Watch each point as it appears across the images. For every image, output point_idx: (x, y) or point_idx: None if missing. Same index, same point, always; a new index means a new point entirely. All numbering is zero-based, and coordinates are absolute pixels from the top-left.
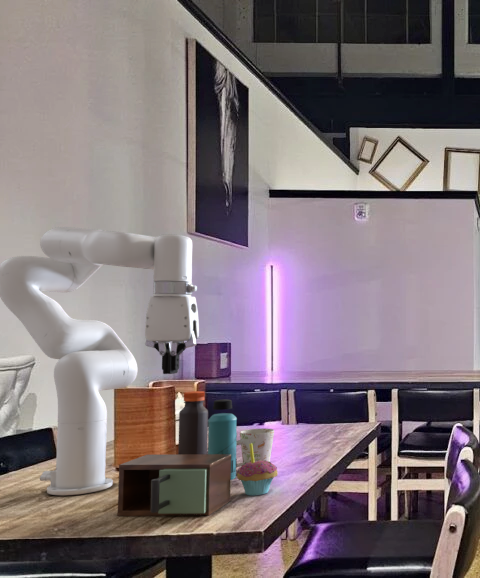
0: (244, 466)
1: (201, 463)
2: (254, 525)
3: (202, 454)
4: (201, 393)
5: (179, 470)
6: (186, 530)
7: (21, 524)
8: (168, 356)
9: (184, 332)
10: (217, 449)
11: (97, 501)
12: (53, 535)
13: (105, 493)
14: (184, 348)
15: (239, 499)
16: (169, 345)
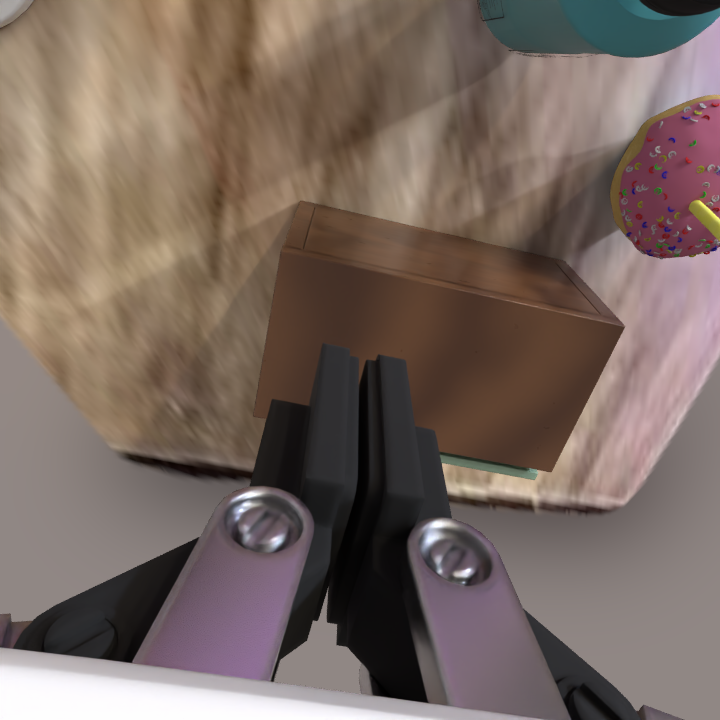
0: (655, 218)
1: (524, 454)
2: (617, 475)
3: (513, 305)
4: None
5: (457, 465)
6: (475, 475)
7: (61, 354)
8: (339, 635)
9: None
10: (561, 51)
11: (130, 149)
12: (198, 449)
13: (92, 18)
14: (567, 682)
15: (593, 240)
16: (270, 674)
